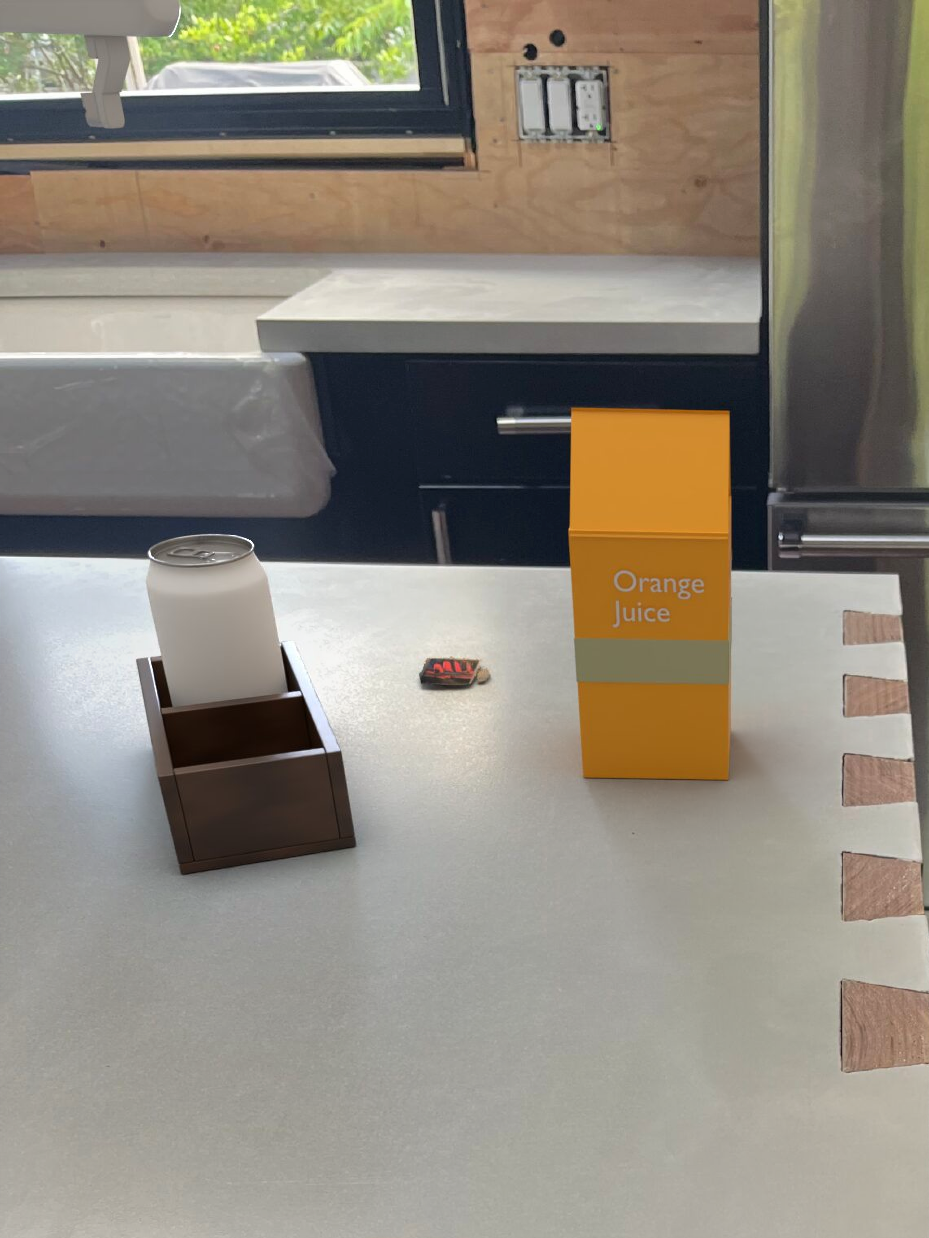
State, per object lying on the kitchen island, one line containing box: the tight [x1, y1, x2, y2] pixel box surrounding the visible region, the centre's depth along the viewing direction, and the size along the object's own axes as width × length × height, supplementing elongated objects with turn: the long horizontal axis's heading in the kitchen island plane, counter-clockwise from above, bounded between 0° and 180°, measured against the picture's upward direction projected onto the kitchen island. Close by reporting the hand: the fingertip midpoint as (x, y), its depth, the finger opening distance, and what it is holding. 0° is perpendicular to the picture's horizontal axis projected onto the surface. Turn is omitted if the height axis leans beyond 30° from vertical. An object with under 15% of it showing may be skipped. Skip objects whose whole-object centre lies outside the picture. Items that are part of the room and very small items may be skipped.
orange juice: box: [567, 407, 733, 781], centre depth 86 cm, size 8×9×20 cm
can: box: [145, 533, 288, 707], centre depth 86 cm, size 6×6×12 cm
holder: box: [135, 640, 357, 875], centre depth 85 cm, size 9×17×6 cm, turn 23°
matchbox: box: [418, 655, 491, 686], centre depth 101 cm, size 5×5×1 cm
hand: (37, 125), depth 90 cm, fingers open, 8 cm apart
